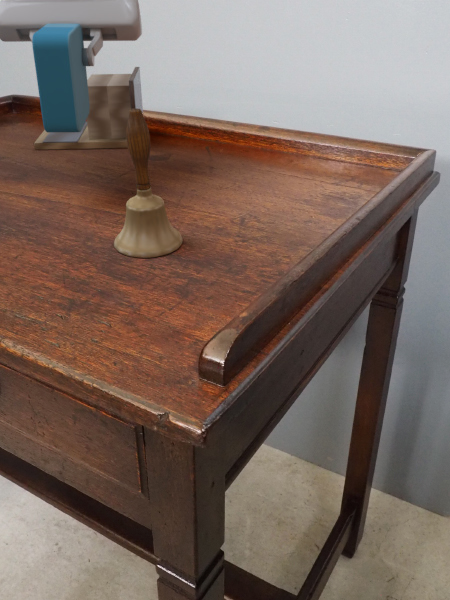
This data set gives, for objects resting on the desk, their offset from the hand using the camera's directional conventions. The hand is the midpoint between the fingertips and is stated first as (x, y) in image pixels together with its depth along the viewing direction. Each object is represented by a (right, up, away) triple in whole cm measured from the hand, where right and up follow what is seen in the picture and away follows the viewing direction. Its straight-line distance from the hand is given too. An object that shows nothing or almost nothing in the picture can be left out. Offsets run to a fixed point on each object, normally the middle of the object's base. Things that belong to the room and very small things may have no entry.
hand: (65, 63), depth 83 cm
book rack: (-3, -2, +30) cm, 30 cm away
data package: (0, -8, +1) cm, 8 cm away
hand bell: (+12, -25, -8) cm, 29 cm away
